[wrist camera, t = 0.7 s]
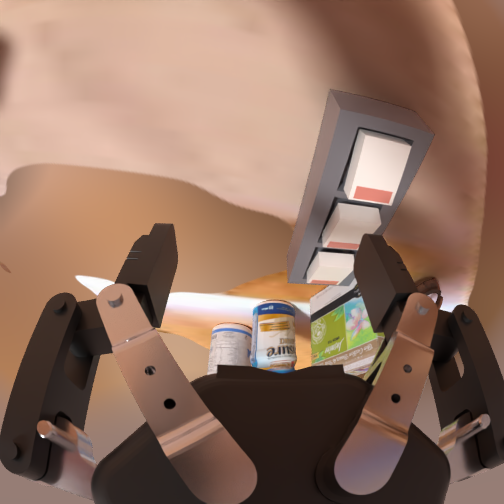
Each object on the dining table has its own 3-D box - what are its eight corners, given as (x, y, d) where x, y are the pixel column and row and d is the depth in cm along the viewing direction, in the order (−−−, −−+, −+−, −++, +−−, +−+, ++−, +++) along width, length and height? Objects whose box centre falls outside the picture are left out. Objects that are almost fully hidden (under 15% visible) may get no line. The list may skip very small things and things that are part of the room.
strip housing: (329, 89, 21) (340, 109, 19) (414, 111, 22) (434, 134, 19) (286, 256, 41) (287, 282, 39) (344, 260, 42) (349, 286, 39)
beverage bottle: (243, 308, 56) (237, 408, 44) (273, 293, 51) (272, 406, 39) (274, 320, 60) (272, 412, 48) (304, 308, 55) (306, 409, 43)
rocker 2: (338, 202, 26) (340, 219, 25) (378, 208, 26) (381, 224, 26) (321, 232, 32) (322, 247, 31) (357, 236, 32) (358, 250, 31)
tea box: (363, 255, 41) (379, 350, 32) (402, 272, 44) (419, 354, 35) (307, 298, 52) (310, 376, 43) (346, 308, 55) (353, 379, 46)
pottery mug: (379, 289, 50) (401, 313, 42) (414, 254, 47) (439, 274, 40) (403, 319, 54) (422, 342, 46) (434, 288, 52) (456, 309, 44)
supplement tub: (255, 336, 69) (253, 393, 60) (218, 336, 70) (213, 392, 61) (248, 320, 61) (245, 386, 52) (206, 321, 63) (200, 384, 54)
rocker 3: (318, 251, 32) (319, 266, 32) (353, 254, 33) (354, 269, 32) (306, 270, 38) (306, 283, 37) (337, 272, 38) (338, 285, 37)
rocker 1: (358, 128, 21) (365, 135, 19) (402, 139, 21) (411, 146, 20) (343, 189, 25) (348, 199, 23) (384, 195, 25) (391, 206, 24)
